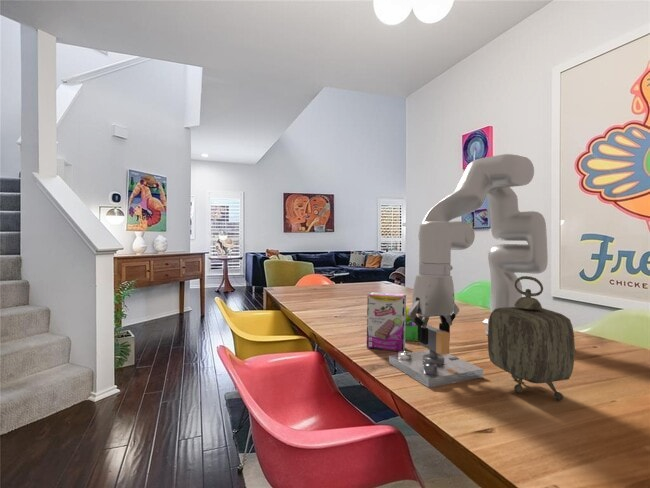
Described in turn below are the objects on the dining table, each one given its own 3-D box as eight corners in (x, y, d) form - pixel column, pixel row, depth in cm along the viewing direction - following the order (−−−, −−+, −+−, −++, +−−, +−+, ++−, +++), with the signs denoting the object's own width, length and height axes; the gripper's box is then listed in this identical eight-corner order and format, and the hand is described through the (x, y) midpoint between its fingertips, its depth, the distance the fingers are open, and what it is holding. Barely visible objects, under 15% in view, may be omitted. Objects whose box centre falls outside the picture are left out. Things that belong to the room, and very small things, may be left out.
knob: (431, 354, 89) (432, 324, 89) (453, 365, 81) (454, 332, 81) (415, 356, 87) (415, 325, 87) (436, 368, 79) (436, 334, 79)
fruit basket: (421, 342, 107) (421, 307, 107) (393, 339, 110) (393, 305, 110) (423, 333, 118) (423, 301, 118) (397, 331, 121) (397, 299, 120)
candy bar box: (366, 348, 101) (366, 294, 100) (369, 343, 105) (369, 291, 105) (404, 352, 97) (404, 296, 97) (405, 347, 102) (406, 293, 102)
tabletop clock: (574, 403, 67) (576, 279, 67) (539, 410, 65) (541, 281, 64) (514, 375, 81) (515, 272, 81) (483, 379, 78) (485, 273, 78)
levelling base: (388, 363, 89) (389, 348, 89) (437, 355, 95) (437, 341, 95) (428, 387, 74) (428, 369, 74) (482, 377, 80) (483, 360, 80)
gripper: (450, 268, 91) (450, 334, 91) (396, 269, 84) (396, 341, 84) (472, 270, 84) (471, 342, 84) (415, 272, 77) (414, 350, 77)
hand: (433, 340), depth 84 cm, fingers open, 6 cm apart
